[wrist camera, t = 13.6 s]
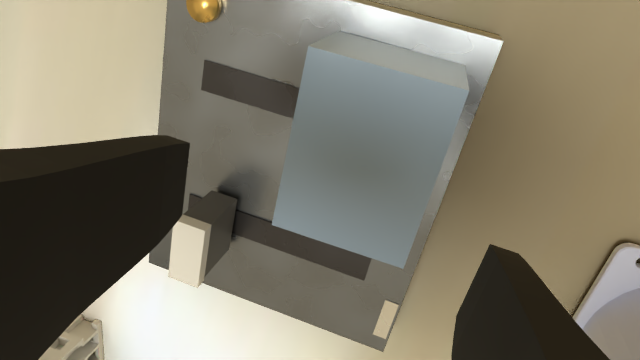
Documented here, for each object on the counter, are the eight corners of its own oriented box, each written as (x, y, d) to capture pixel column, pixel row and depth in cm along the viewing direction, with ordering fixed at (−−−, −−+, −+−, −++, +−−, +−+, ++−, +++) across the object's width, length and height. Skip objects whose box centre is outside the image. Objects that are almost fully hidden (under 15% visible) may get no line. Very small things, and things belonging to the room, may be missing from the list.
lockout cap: (464, 64, 16) (469, 90, 12) (412, 211, 18) (403, 268, 15) (339, 31, 16) (308, 46, 13) (305, 178, 19) (271, 225, 15)
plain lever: (238, 198, 20) (204, 231, 17) (230, 249, 21) (197, 287, 18) (210, 188, 20) (173, 219, 17) (203, 240, 21) (168, 276, 18)
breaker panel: (499, 35, 17) (504, 42, 15) (389, 323, 23) (381, 358, 21) (198, -45, 19) (164, -48, 16) (171, 242, 25) (143, 266, 23)
